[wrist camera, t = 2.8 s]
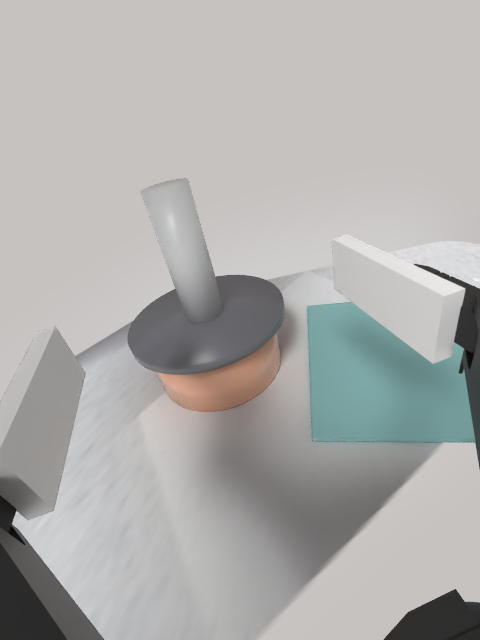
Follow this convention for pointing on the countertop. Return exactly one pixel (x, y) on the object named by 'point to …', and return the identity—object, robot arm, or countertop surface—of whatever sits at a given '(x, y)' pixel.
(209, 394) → the orange bowl
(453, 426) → the mat
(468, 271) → the countertop surface
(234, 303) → the lid
